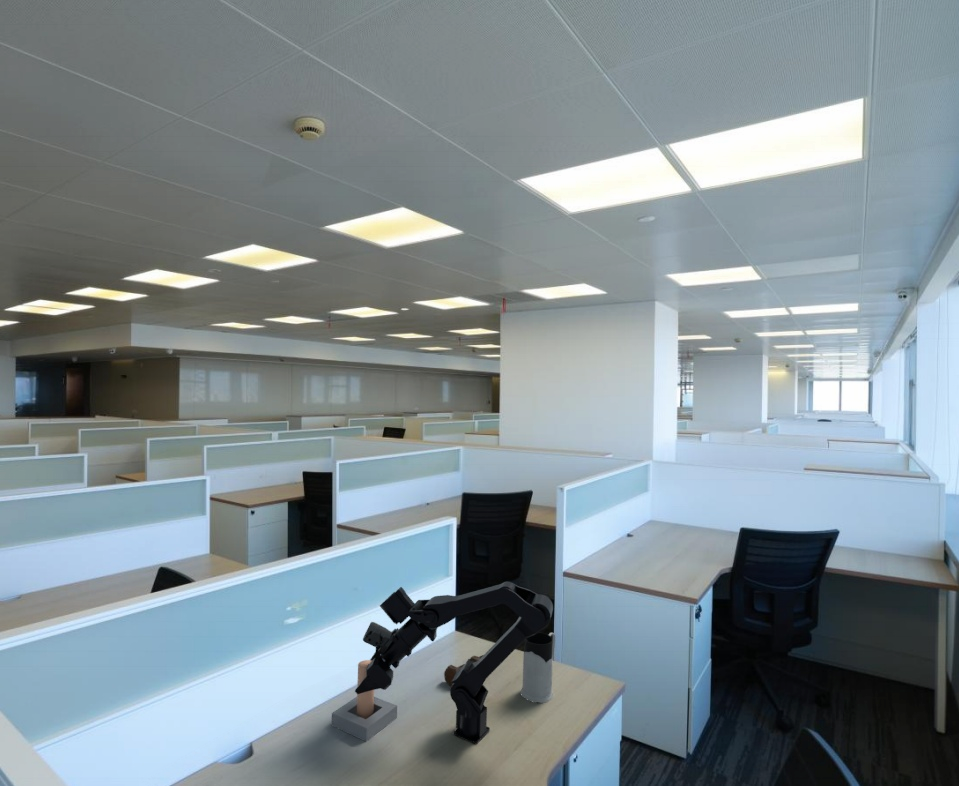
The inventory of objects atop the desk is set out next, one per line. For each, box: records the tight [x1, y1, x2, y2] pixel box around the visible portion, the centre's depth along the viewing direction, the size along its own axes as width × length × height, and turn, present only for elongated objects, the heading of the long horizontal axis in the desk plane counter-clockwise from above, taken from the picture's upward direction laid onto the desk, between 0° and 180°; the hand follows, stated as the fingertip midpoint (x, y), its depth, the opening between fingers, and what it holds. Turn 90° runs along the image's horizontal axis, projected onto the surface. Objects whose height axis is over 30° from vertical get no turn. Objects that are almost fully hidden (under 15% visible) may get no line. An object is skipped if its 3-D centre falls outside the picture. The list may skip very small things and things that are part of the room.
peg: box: [356, 659, 375, 719], centre depth 135 cm, size 4×4×14 cm
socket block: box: [331, 696, 398, 742], centre depth 135 cm, size 11×11×3 cm
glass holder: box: [520, 631, 556, 704], centre depth 152 cm, size 9×14×15 cm, turn 146°
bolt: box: [443, 654, 484, 687], centre depth 158 cm, size 6×5×15 cm
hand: (360, 682), depth 135 cm, fingers open, 9 cm apart
